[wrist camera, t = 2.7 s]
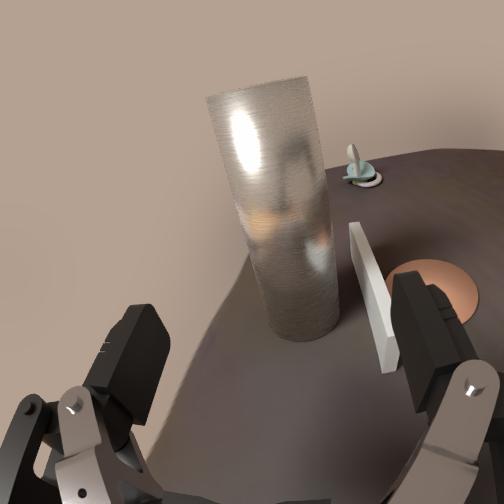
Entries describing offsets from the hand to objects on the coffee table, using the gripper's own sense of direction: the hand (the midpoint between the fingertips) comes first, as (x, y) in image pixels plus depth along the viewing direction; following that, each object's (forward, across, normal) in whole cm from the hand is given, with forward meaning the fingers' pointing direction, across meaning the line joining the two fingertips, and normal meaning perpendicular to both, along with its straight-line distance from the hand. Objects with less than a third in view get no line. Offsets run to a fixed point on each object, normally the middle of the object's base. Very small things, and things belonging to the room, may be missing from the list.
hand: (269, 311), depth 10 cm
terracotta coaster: (+12, -12, +11) cm, 20 cm away
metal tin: (+11, 0, +12) cm, 16 cm away
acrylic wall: (+12, -6, +11) cm, 17 cm away
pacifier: (+38, -12, +12) cm, 42 cm away
